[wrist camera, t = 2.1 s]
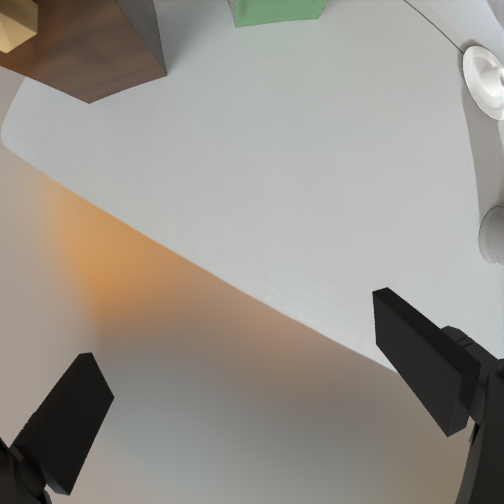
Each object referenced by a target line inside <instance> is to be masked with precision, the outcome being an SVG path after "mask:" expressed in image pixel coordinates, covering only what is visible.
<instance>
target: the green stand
mask: <svg viewBox="0 0 504 504" xmlns="http://www.w3.org/2000/svg"><path fill="white" fill-rule="evenodd" d="M327 2H328V0H229V4H230V7H231V11H232V15H233V18H234V22H235V25H236V28H239V27H245V26H251V25H258V24H265V23H273V22H282V21H292V20H305V19H318V18H319V16H320V14H321V12H322V10H323V9H324V7H325V5H326V3H327Z"/></svg>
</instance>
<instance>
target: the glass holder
mask: <svg viewBox="0 0 504 504" xmlns="http://www.w3.org/2000/svg"><path fill="white" fill-rule="evenodd" d="M479 248H480V252H481V254H482V256H483V258H484V259H485V260H486V261H487V262H489V263H499V264H502V265H504V208H502V207H494V208H492V209H491V210H490V211H489V212H488V213H487V214H486V216H485V217H484V219H483V221H482V224H481V227H480V232H479Z"/></svg>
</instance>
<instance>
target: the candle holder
mask: <svg viewBox="0 0 504 504" xmlns="http://www.w3.org/2000/svg"><path fill="white" fill-rule="evenodd" d="M463 72H464V77H465V80H466V83H467V86H468V88H469V91H470V93H471V95H472V97H473V98H474V100H475V102H476V103H477V104H478V106H479V107H480V108H481V109H482V110H483V111H484V112H485V113H486V114H487V115H488V116H490V117H491V118H493V119H496V120H504V67H503V66H502V64H501V63H500V61H499V60H498V59H497V58H496V57H495V56H494V55H493V54H492V53H491V52H490V51H488V50H487V49H485V48H483V47H480V46H472V47H469V48H467V50H466V52H465V53H464V55H463Z"/></svg>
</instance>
